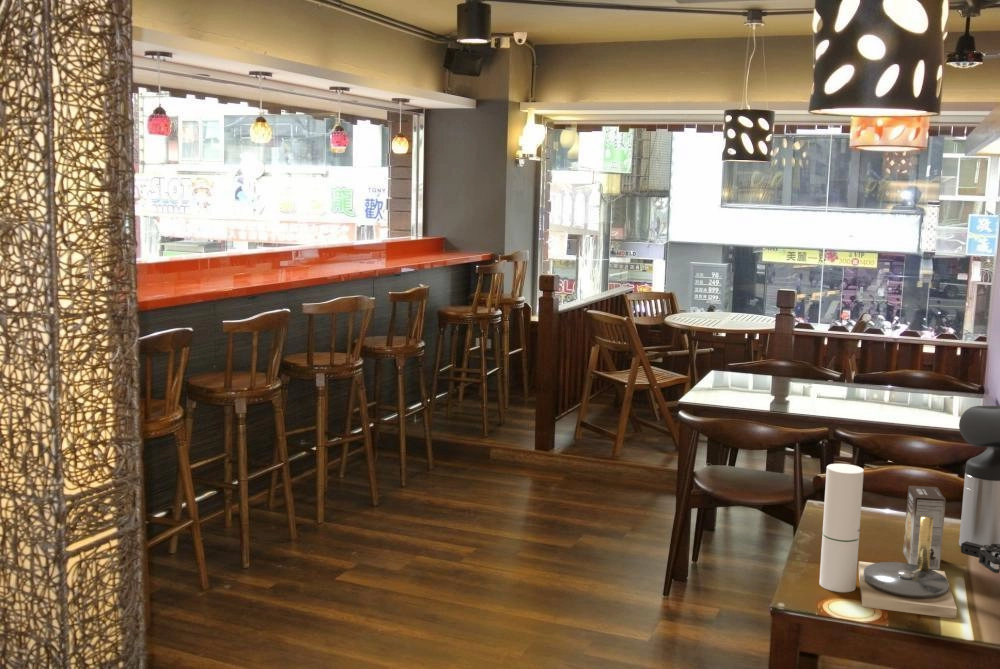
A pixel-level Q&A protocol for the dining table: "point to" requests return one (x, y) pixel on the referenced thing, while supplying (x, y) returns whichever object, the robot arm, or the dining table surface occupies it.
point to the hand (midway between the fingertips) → (962, 546)
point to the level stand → (906, 599)
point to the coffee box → (918, 505)
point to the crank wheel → (910, 571)
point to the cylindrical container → (841, 527)
